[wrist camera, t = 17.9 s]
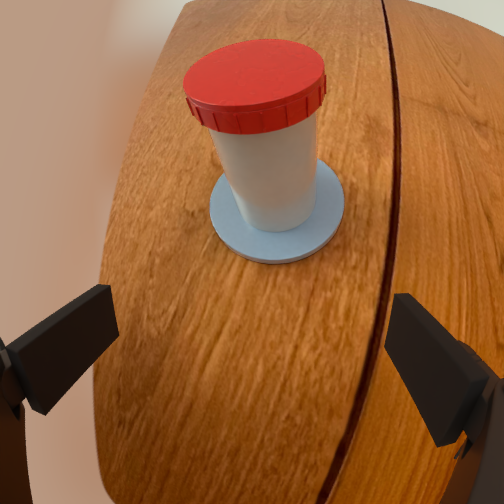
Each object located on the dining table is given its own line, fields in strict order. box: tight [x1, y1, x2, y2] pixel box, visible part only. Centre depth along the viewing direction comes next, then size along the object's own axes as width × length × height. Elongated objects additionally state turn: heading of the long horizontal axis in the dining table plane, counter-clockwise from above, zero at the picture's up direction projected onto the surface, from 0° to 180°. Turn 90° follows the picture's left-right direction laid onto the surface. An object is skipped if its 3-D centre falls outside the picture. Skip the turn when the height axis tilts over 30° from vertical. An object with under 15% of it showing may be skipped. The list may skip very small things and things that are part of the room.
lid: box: [183, 39, 326, 135], centre depth 13 cm, size 7×7×2 cm
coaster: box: [210, 158, 344, 264], centre depth 24 cm, size 11×11×1 cm
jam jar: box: [208, 110, 317, 232], centre depth 18 cm, size 6×6×12 cm
